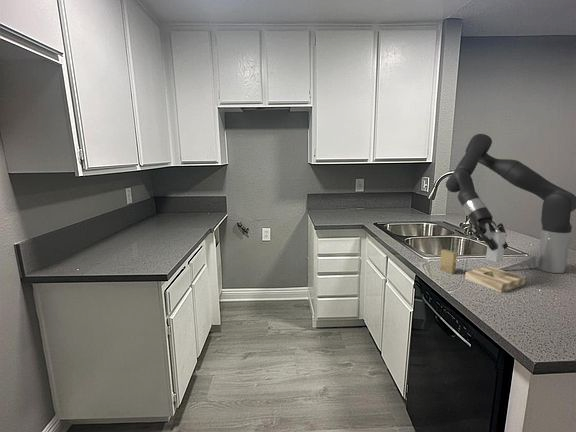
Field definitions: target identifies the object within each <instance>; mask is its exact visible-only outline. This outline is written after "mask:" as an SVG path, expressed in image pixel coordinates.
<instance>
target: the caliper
mask: <svg viewBox="0 0 576 432" xmlns="http://www.w3.org/2000/svg"><path fill="white" fill-rule="evenodd" d="M526 266H527V268H528V269H531V270H532V268H533V269H535V268H536V267H537V258H536V257H535V254H531V255H529V257H527V258H523V259H521V260H519V261H517V262H513V263H510V264H507V265H504V266H499V267H496V269H499V270H503V271H507V270H510V269H515V268H517V267H522V268H523V267H526Z"/></svg>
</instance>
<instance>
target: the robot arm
mask: <svg viewBox="0 0 576 432" xmlns="http://www.w3.org/2000/svg"><path fill="white" fill-rule="evenodd" d="M492 143H493V140H492V138H491V137H490V136H489V135H488V134H485V133H477V134H474V135H473V136H472V137H471V138H470V140H469V143H468V145H467V146H466V148H465V153H464V155H463V156H462V158H461V160H460V161H459V162H458V164H457V166H456V167H455V169H454V171H453V172H452V174H450V176H449V177H448V179H447V180H446V181H445V188H446V189H447V190H448V192H451V193H458V194H457V199H458V201H459V203H460V204H461V206H462V208H463V211H464V212H465V214H466V216H467V218H468V219H469V221H470V222H471V224H472V225H473V227H472V228H470V231H471V233H472V234H473V235H474V236H475V237H476V239H477V240H479V241H480V242H484V243H486V245H487V244H488V246H489V248H490V249H491V250H492V251H493V250H496V249H497V246H496V245H495V243H494V241H493V240H491V236H490V235H489V234H490V233H489V232H492V231H499V232H503V233H506V237H507V236H508V235H507V232H506V229H505V227H504V225H503V223H496V222H494V220H493V215H492V213H491V211H490V210H489V208H488V207H487V206H486V205H485V203H484V202H483V201H482V199H481V198H480V196H479V194H478V193H477V192H476V189H475V185H474V182H473V178H472V175H473V173H474V171H475V170H476V168H477V165H478V163H479V164H481V165H483V166H484V167H486V168H488V169H490V170H491V171H493V172H494V173H496V174H497V175H498V176H500V177H501V178H502V179H504V180H505V181H507V182H508V183H510V184H511V185H513V186H515V187H517V188H519V189H520V190H524V191H526V192H529V193H531V194H533V195H535V196H536V197H538V198H540V199H541V200H543V202H542V208H541V216H540V218H541V219H540V222H541V223H540V224H541V233H540V239H539V240H540V241H539V248H538V254H537V255H538V256H537V261H536V268H537V269H538V270H540V271H543V272H547V273H552V274H564V273H565V272H566V267H567V261H568V255H569V248H570V243H571V234H572V228H573V226H572V224H571V213H572V212H575V210H576V195H575V194H574V193H572V192H570V191H569V190H566V189H564V188H562V187H561V186H558V185H556V184H554V183H552V182H550V181H549V180H548V179H547V178H545V177H543V176H542V175H541V174H539V173H538V172H537V171H534V170H533V169H532V168H530V167H529V166H528V165H525V164H524V163H523V162H521V161H519V160H516V159H512V158H511V159H510V158H509V159H507V158H504V159H503V158H496V157H493V156H492V155H490V154H488V152H489V150H490V148H491V147H492ZM507 248H509V244H508V243H507V241H506V240H505V246H504V250H506V249H507Z"/></svg>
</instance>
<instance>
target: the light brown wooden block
mask: <svg viewBox="0 0 576 432" xmlns="http://www.w3.org/2000/svg"><path fill="white" fill-rule="evenodd" d="M457 254H458V253H457V252H454V251H452V250H449V249H441V250H440V261H439V270H440V271H442V272H445V273H448V274H450V275H454V274H455V275H456V271H457V270H456V269H457V257H458V255H457Z"/></svg>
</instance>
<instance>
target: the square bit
mask: <svg viewBox="0 0 576 432" xmlns="http://www.w3.org/2000/svg"><path fill="white" fill-rule="evenodd" d="M489 233H490V234H489V235H490V236H491V240H493V241H494V243H495V245H496V246H497V249H496V250H493V251H492V250H491V249H490V248H489V246H488V244H487V243H486V255H485V260H487V261H490V262H494V263H499V262H503V261H504V255H505V249H504V246H505V241H506V238H507V236H506V234H507V232H506V233H503V232H499V231H492V232H489Z"/></svg>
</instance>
